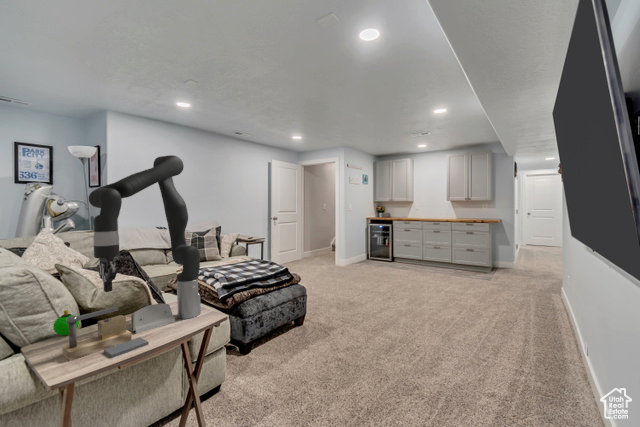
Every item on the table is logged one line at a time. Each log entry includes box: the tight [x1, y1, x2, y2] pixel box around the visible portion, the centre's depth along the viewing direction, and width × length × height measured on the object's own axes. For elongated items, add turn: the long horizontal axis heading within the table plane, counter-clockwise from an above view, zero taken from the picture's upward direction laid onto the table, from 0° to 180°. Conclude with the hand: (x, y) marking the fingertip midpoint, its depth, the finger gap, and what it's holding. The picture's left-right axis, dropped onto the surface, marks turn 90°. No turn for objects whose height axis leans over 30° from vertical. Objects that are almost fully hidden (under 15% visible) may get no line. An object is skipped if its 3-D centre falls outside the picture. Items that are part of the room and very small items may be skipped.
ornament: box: [52, 309, 80, 336], centre depth 121 cm, size 8×8×10 cm
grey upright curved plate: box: [130, 303, 176, 335], centre depth 130 cm, size 17×5×10 cm, turn 143°
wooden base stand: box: [62, 322, 133, 362], centre depth 110 cm, size 19×8×12 cm, turn 144°
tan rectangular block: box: [97, 314, 127, 340], centre depth 114 cm, size 8×4×6 cm, turn 144°
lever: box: [66, 306, 119, 324], centre depth 109 cm, size 16×3×2 cm, turn 144°
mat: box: [103, 336, 149, 359], centre depth 109 cm, size 12×7×1 cm, turn 144°
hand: (108, 291), depth 107 cm, fingers closed
